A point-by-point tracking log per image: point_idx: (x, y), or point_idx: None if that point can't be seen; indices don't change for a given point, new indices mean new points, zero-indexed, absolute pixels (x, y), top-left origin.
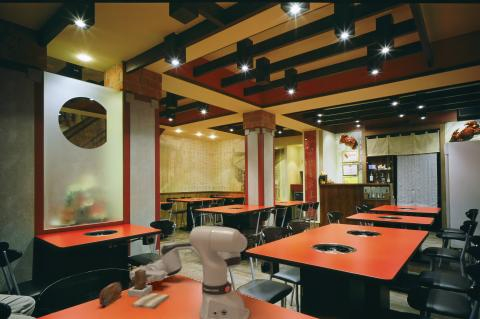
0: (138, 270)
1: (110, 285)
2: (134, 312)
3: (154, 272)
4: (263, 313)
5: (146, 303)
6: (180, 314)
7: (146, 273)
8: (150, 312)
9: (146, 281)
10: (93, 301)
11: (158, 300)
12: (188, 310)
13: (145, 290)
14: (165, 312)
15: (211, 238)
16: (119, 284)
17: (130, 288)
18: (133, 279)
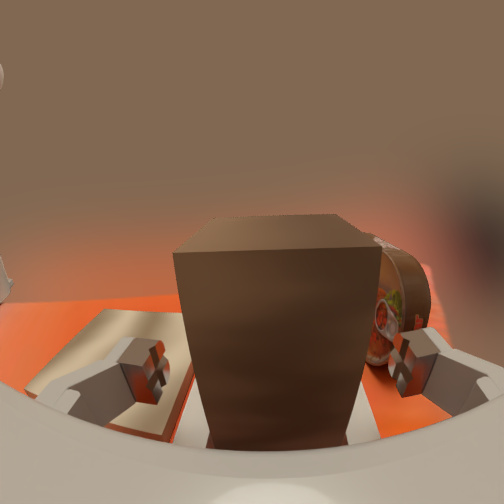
0: (326, 227)
1: (378, 242)
2: (179, 300)
3: (7, 485)
4: None
5: (139, 321)
6: (39, 302)
7: (221, 453)
8: (120, 304)
9: (165, 374)
10: (436, 313)
11: (84, 342)
12: (13, 314)
13: (186, 414)
14: (73, 307)
15: None
16: (400, 292)
17: (365, 399)
18: (393, 364)
